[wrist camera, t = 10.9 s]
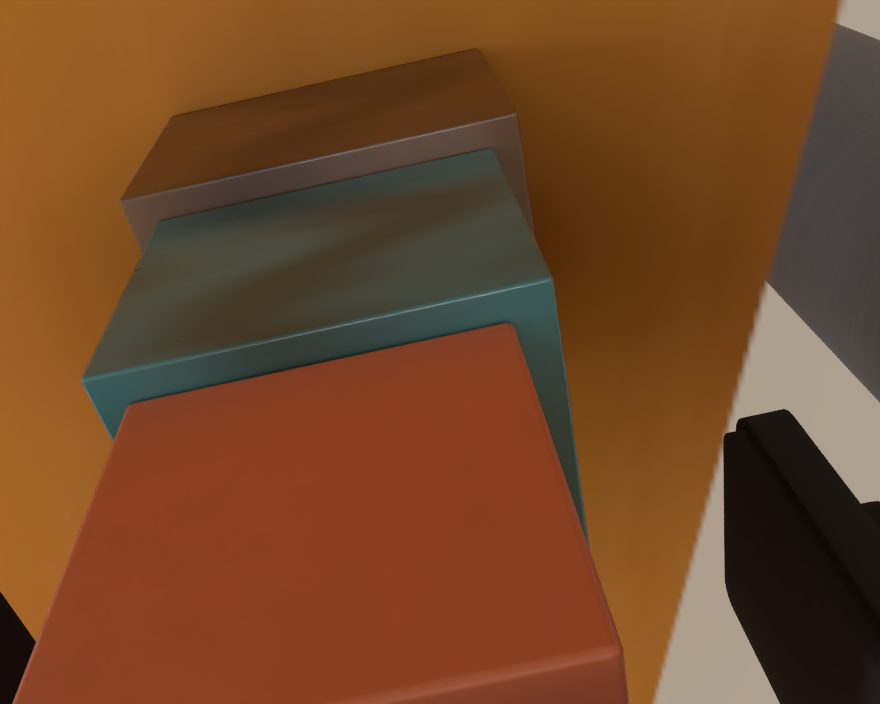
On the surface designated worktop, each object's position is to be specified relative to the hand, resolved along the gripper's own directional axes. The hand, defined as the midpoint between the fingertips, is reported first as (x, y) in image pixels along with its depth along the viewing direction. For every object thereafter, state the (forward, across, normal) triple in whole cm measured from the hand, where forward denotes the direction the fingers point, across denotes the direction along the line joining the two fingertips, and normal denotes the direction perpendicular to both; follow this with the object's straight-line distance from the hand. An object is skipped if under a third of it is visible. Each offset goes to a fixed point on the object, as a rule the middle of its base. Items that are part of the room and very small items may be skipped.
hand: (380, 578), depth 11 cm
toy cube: (+1, 0, 0) cm, 1 cm away
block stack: (+11, 0, 0) cm, 11 cm away
